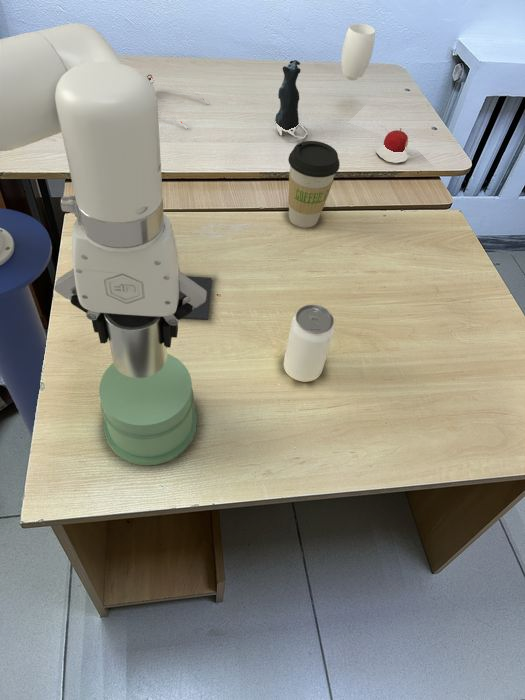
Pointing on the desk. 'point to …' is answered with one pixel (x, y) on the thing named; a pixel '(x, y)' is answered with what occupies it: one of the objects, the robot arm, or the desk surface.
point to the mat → (203, 309)
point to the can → (308, 342)
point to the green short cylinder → (148, 413)
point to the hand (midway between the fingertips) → (137, 335)
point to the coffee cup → (310, 180)
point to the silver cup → (136, 343)
